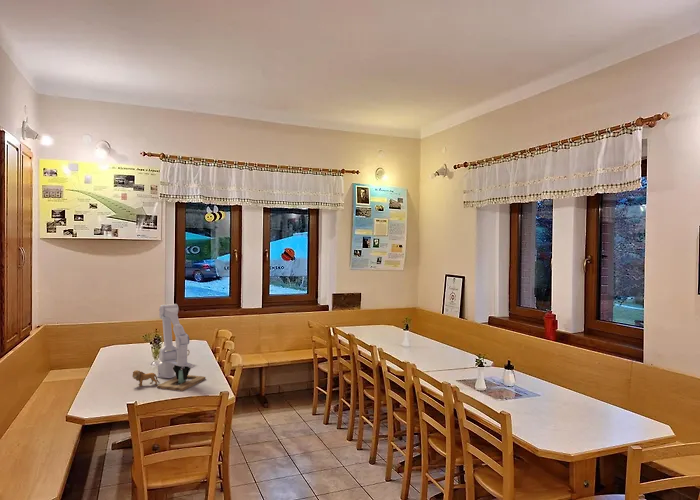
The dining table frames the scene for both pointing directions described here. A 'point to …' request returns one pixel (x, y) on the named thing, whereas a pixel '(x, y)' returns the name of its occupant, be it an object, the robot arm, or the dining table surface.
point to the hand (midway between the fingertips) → (181, 379)
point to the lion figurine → (144, 377)
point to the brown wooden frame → (171, 384)
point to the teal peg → (181, 377)
